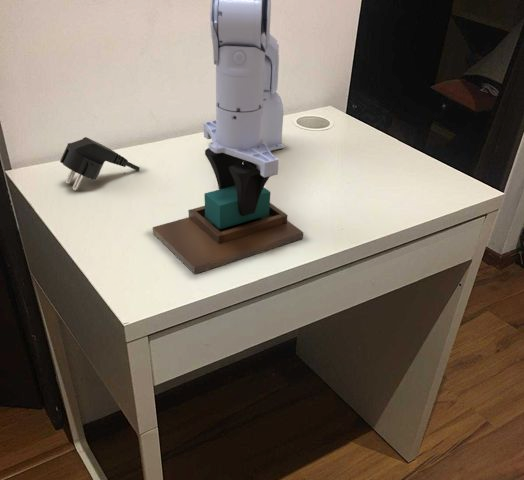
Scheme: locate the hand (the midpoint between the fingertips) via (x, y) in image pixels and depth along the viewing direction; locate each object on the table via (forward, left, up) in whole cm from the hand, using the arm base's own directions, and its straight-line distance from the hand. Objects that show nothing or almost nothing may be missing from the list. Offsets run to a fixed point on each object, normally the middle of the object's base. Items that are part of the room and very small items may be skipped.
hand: (238, 206), depth 80 cm
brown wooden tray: (+3, +2, -3) cm, 4 cm away
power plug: (+10, -23, -3) cm, 25 cm away
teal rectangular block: (0, 0, -1) cm, 1 cm away
